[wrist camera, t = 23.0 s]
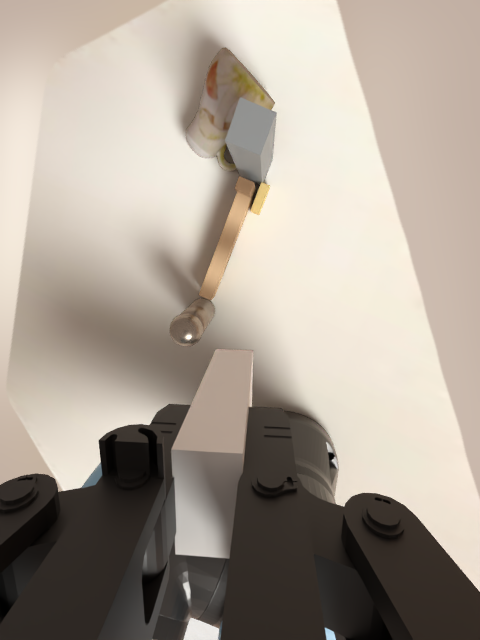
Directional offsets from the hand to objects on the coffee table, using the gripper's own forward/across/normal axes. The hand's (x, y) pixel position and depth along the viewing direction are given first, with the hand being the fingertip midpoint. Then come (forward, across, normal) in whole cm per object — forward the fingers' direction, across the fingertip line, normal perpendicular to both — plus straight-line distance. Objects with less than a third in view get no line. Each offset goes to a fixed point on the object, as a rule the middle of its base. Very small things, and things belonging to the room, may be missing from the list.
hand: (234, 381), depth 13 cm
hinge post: (+29, -7, -4) cm, 30 cm away
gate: (+29, -3, +5) cm, 29 cm away
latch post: (+29, 0, +12) cm, 31 cm away
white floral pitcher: (+29, -3, +18) cm, 35 cm away
